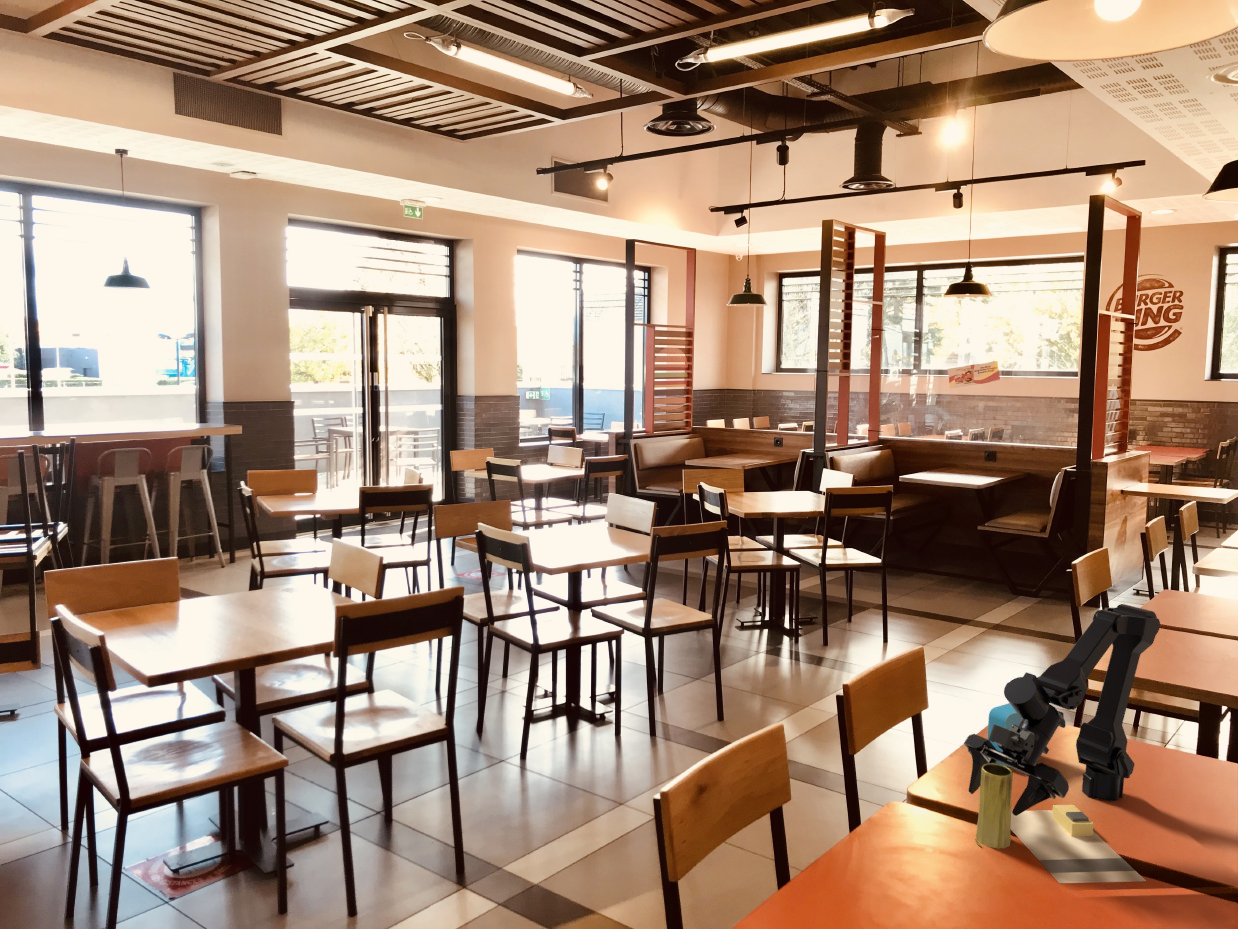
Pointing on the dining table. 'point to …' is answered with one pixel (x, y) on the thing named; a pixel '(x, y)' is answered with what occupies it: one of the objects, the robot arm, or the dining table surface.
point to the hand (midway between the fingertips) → (991, 803)
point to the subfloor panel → (1070, 851)
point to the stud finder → (1073, 820)
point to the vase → (995, 806)
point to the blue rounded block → (1002, 721)
